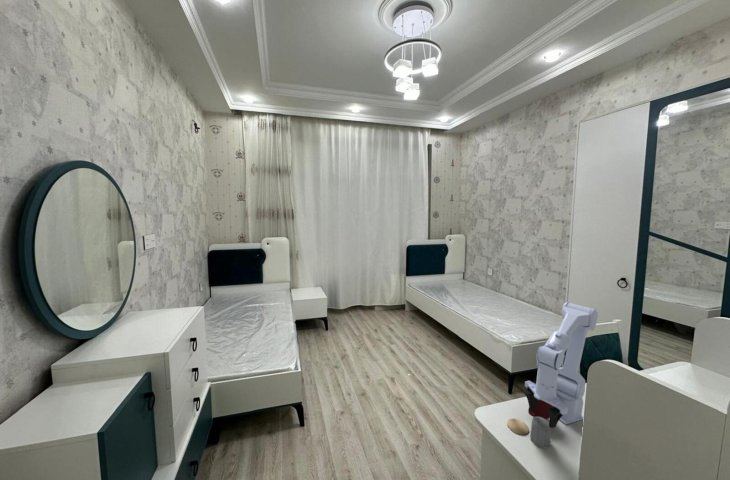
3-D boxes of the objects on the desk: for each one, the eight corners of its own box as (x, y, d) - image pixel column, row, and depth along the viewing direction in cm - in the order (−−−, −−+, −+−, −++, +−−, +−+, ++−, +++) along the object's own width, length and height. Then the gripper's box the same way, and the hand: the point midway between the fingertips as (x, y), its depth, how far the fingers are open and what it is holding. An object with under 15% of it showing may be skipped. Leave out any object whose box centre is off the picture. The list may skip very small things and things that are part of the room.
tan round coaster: (517, 418, 110) (517, 416, 110) (533, 432, 104) (533, 430, 104) (502, 422, 108) (503, 421, 108) (517, 436, 102) (518, 435, 102)
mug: (541, 432, 104) (544, 407, 102) (519, 417, 110) (522, 394, 109) (556, 420, 109) (559, 396, 108) (534, 407, 116) (537, 384, 115)
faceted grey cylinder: (538, 432, 104) (540, 415, 103) (553, 445, 98) (555, 426, 97) (526, 436, 102) (528, 418, 101) (540, 449, 97) (542, 430, 96)
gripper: (519, 371, 102) (516, 406, 104) (557, 398, 89) (552, 437, 91) (535, 368, 105) (531, 402, 107) (574, 394, 91) (569, 432, 93)
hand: (542, 418), depth 99 cm, fingers open, 7 cm apart
